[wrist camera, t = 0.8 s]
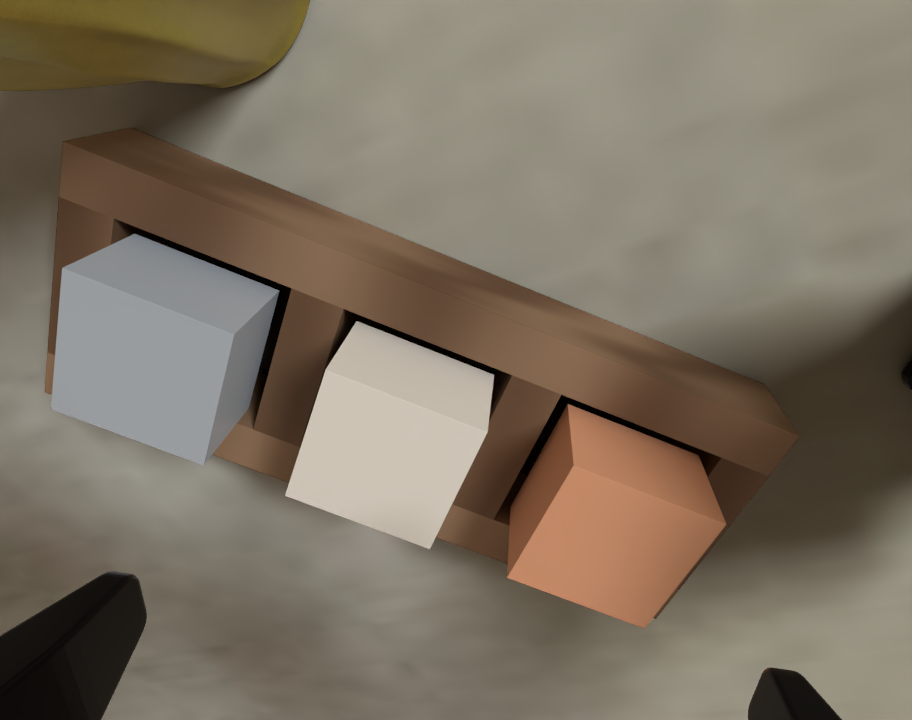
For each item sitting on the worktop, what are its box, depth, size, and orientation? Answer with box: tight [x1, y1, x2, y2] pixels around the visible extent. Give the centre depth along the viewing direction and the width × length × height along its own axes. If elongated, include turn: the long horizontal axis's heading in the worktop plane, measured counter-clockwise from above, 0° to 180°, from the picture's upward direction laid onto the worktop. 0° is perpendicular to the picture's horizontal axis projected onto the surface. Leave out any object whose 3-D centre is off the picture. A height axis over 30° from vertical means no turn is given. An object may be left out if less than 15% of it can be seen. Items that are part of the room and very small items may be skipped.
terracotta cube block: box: [507, 404, 726, 628], centre depth 18 cm, size 4×4×3 cm
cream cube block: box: [285, 321, 494, 549], centre depth 17 cm, size 4×4×3 cm
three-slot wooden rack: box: [45, 128, 800, 619], centre depth 20 cm, size 21×8×3 cm, turn 69°
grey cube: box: [51, 234, 279, 466], centre depth 17 cm, size 4×4×3 cm
